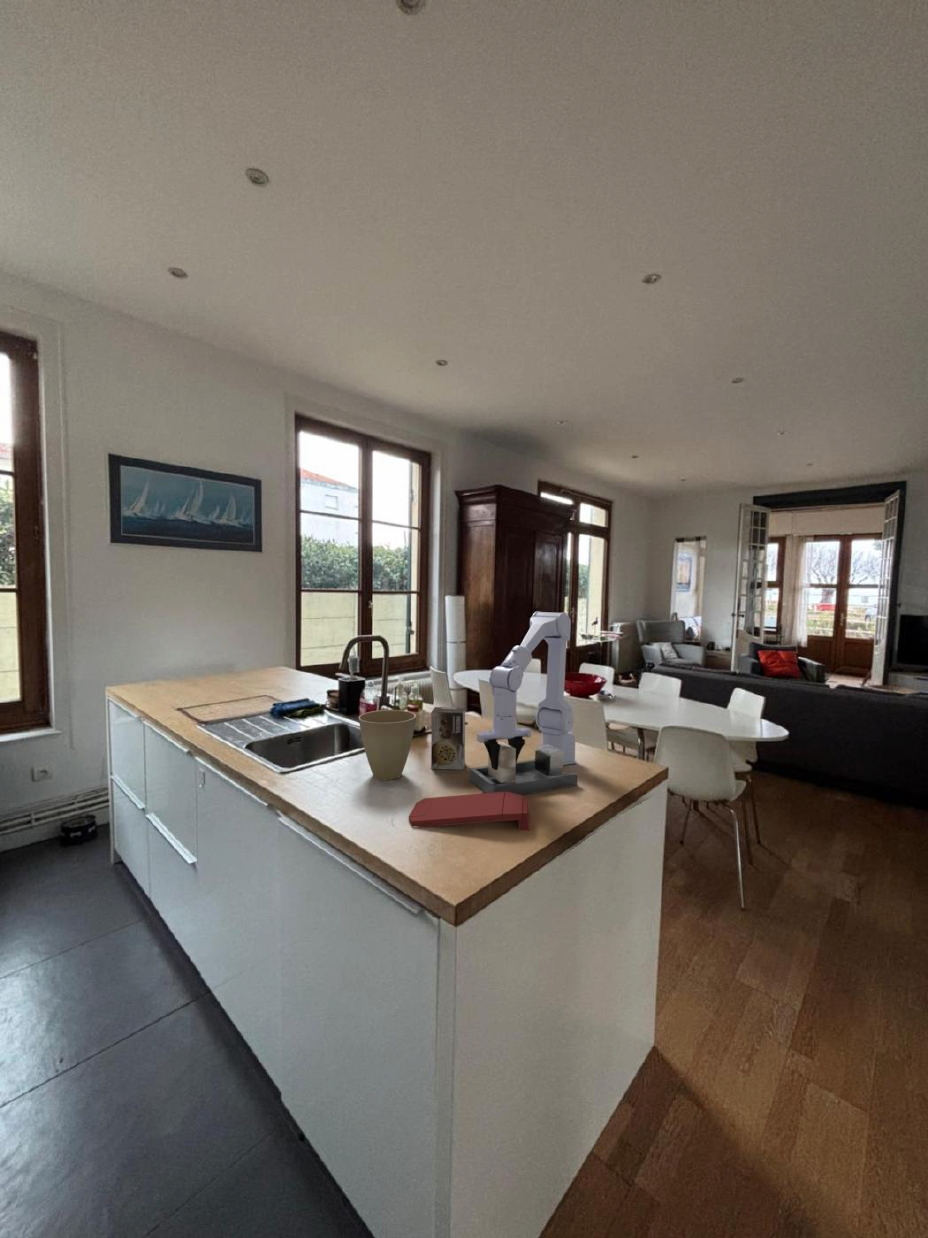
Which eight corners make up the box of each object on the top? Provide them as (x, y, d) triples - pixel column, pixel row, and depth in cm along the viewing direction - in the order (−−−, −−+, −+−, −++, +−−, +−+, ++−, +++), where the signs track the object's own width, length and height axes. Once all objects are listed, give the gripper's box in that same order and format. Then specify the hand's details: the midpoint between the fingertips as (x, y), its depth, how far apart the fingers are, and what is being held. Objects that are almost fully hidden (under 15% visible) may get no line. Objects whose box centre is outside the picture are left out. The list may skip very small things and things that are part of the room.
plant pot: (404, 763, 143) (405, 707, 143) (423, 780, 130) (424, 719, 129) (352, 770, 137) (352, 712, 136) (366, 789, 123) (366, 725, 123)
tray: (546, 768, 141) (547, 740, 141) (577, 785, 128) (578, 754, 128) (469, 779, 131) (469, 749, 131) (494, 799, 118) (494, 766, 118)
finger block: (504, 772, 132) (504, 741, 132) (517, 780, 125) (517, 748, 125) (488, 774, 130) (488, 743, 130) (501, 782, 123) (501, 750, 123)
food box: (465, 763, 144) (466, 707, 144) (463, 770, 138) (464, 712, 137) (433, 761, 145) (434, 706, 145) (430, 769, 139) (431, 711, 138)
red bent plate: (409, 844, 104) (529, 836, 101) (405, 821, 104) (526, 812, 101) (421, 819, 116) (529, 811, 113) (418, 798, 116) (526, 789, 113)
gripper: (521, 708, 133) (520, 759, 134) (472, 713, 127) (471, 765, 128) (535, 714, 127) (534, 767, 127) (484, 719, 121) (483, 775, 121)
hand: (503, 767), depth 127 cm, fingers closed on finger block, 4 cm apart
